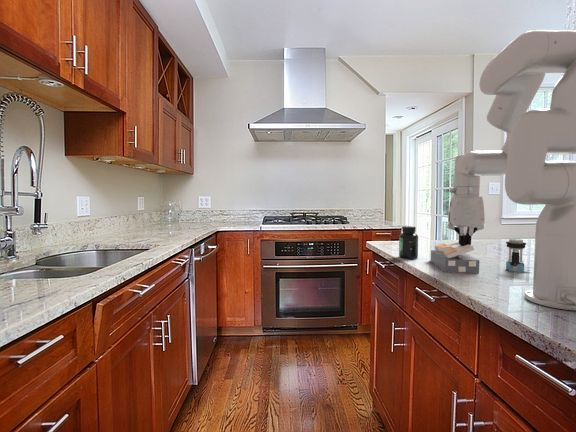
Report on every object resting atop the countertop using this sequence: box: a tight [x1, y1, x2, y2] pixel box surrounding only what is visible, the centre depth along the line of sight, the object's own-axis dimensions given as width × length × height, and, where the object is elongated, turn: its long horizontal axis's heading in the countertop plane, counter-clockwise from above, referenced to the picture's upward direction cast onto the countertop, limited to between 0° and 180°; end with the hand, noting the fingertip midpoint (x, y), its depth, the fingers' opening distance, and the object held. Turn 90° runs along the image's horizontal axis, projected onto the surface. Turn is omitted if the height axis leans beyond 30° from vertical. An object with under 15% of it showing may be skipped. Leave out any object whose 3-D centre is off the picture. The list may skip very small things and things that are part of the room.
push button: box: [505, 238, 531, 273], centre depth 106 cm, size 7×5×10 cm
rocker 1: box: [434, 239, 459, 251], centre depth 119 cm, size 4×8×1 cm, turn 80°
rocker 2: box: [439, 245, 462, 252], centre depth 113 cm, size 4×8×1 cm, turn 80°
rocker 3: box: [444, 244, 475, 258], centre depth 107 cm, size 4×8×1 cm, turn 80°
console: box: [430, 249, 480, 274], centre depth 113 cm, size 18×10×5 cm, turn 170°
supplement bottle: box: [398, 225, 419, 260], centre depth 129 cm, size 7×7×12 cm
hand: (464, 246), depth 113 cm, fingers closed
